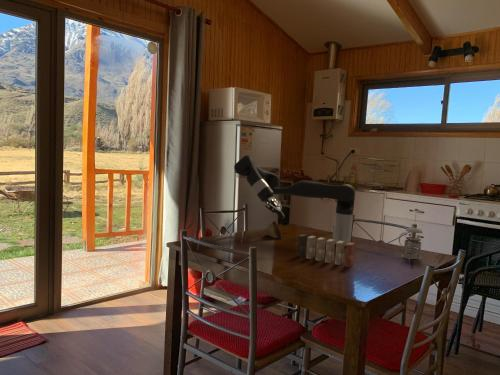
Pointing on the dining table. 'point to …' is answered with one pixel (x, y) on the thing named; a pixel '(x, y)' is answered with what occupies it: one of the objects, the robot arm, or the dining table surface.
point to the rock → (274, 231)
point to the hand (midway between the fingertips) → (283, 218)
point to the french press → (414, 243)
